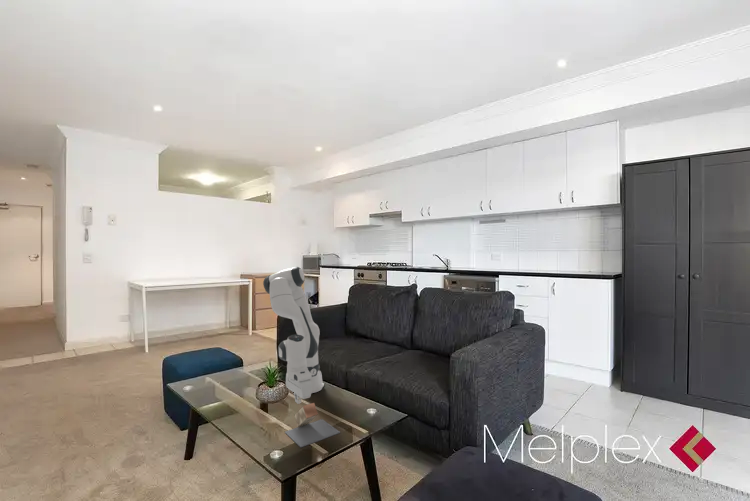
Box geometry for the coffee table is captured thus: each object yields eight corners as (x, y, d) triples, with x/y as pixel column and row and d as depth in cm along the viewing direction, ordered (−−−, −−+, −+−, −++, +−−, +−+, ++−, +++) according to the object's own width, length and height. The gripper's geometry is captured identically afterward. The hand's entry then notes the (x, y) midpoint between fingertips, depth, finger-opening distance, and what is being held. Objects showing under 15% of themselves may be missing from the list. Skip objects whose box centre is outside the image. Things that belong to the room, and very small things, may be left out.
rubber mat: (284, 432, 156) (284, 431, 156) (322, 419, 167) (322, 419, 167) (300, 447, 143) (300, 446, 143) (340, 432, 154) (340, 431, 154)
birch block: (294, 415, 163) (303, 405, 156) (304, 412, 166) (314, 402, 159) (297, 427, 161) (307, 417, 153) (308, 423, 164) (317, 414, 156)
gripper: (281, 368, 171) (282, 397, 171) (299, 379, 155) (300, 412, 155) (294, 365, 175) (295, 394, 175) (313, 375, 158) (314, 407, 158)
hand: (298, 402), depth 165 cm, fingers closed
